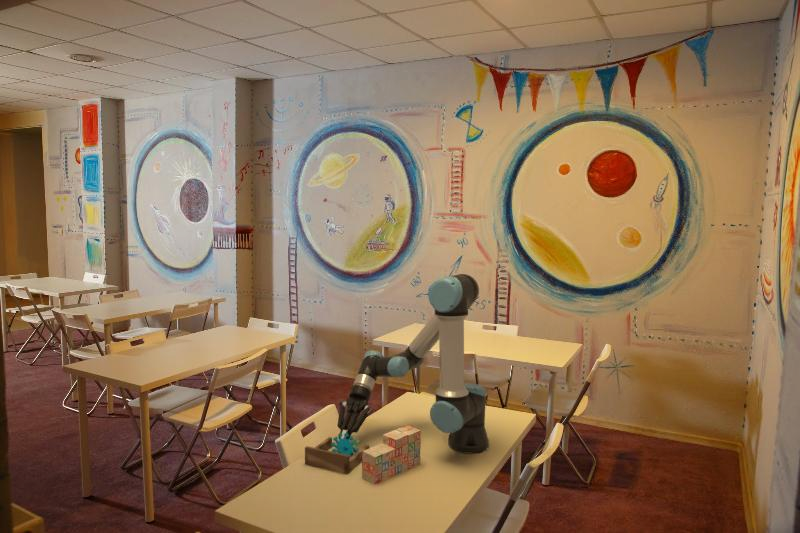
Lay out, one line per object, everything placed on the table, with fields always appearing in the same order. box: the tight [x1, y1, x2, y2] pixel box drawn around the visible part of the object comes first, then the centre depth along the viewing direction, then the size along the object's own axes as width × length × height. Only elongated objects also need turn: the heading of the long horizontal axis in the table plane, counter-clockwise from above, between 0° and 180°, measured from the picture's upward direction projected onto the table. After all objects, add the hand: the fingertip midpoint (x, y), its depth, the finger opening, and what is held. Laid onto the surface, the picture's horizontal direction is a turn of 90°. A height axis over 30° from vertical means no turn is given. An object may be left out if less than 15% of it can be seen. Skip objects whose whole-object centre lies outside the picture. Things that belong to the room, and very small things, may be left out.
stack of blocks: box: [361, 425, 422, 485], centre depth 179 cm, size 21×6×12 cm, turn 135°
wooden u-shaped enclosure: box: [304, 436, 370, 475], centre depth 186 cm, size 16×16×6 cm
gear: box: [331, 432, 360, 459], centre depth 187 cm, size 11×6×10 cm
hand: (339, 448), depth 188 cm, fingers closed
